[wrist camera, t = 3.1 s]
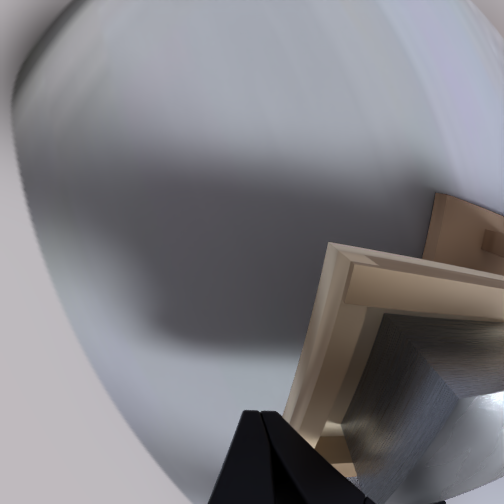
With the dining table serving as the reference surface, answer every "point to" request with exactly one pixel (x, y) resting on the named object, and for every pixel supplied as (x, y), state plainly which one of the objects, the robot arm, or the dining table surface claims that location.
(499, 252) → the stand
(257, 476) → the robot arm
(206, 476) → the dining table surface
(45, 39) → the dining table surface
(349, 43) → the dining table surface
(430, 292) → the beam
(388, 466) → the block
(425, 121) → the dining table surface
